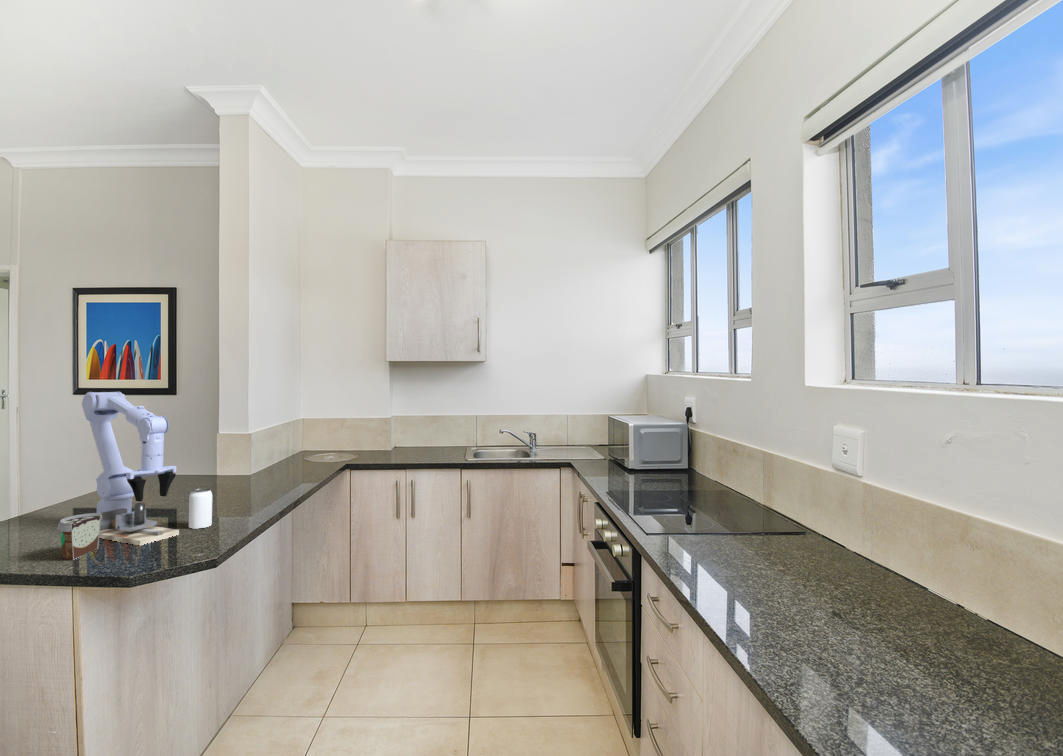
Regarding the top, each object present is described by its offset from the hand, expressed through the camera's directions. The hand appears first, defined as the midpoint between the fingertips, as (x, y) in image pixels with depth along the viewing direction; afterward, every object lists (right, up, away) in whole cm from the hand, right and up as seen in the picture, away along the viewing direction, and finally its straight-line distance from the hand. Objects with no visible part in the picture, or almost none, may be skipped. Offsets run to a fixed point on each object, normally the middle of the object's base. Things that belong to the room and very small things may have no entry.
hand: (151, 498), depth 172 cm
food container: (-5, -11, -23) cm, 26 cm away
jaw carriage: (-1, -7, -5) cm, 9 cm away
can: (+11, -11, +6) cm, 17 cm away
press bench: (-2, -10, -5) cm, 12 cm away
